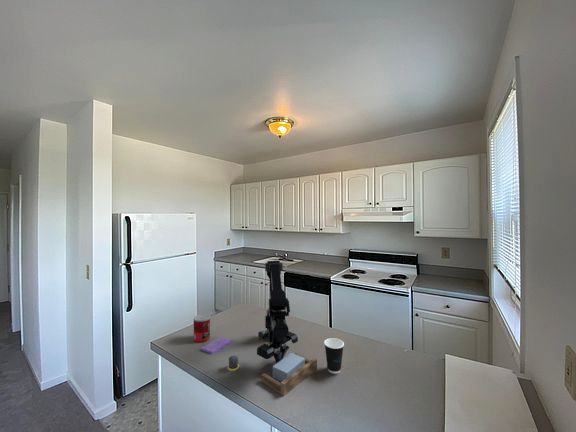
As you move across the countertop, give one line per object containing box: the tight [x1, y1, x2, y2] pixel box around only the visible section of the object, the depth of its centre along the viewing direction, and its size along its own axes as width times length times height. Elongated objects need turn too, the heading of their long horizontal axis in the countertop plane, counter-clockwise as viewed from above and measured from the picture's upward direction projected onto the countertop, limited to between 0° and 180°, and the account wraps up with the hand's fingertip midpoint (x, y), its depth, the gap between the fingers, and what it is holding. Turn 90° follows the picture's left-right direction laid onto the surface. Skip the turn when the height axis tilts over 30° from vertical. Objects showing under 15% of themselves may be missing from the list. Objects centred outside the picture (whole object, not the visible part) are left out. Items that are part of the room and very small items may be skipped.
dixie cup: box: [323, 337, 345, 375], centre depth 102 cm, size 8×8×11 cm
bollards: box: [227, 342, 271, 372], centre depth 112 cm, size 28×5×4 cm, turn 139°
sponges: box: [201, 336, 232, 355], centre depth 121 cm, size 7×13×2 cm, turn 148°
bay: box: [260, 352, 318, 397], centre depth 99 cm, size 20×12×4 cm, turn 139°
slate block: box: [272, 352, 306, 383], centre depth 100 cm, size 12×7×4 cm, turn 143°
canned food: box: [193, 314, 211, 343], centre depth 128 cm, size 8×8×11 cm
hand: (278, 365), depth 103 cm, fingers closed
